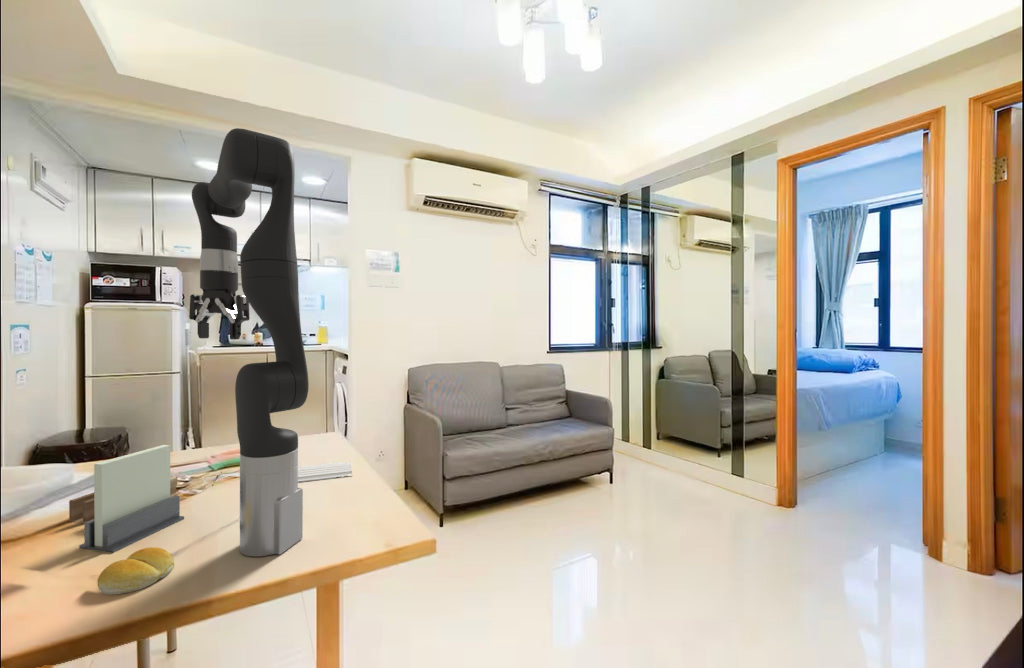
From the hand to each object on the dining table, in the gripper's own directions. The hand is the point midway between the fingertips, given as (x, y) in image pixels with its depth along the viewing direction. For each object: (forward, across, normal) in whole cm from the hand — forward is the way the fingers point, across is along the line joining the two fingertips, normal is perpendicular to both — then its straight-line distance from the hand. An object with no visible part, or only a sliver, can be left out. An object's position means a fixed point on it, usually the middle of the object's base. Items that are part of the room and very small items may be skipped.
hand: (219, 338), depth 104 cm
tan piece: (+35, -2, -16) cm, 38 cm away
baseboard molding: (+37, +10, +10) cm, 40 cm away
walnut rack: (+36, -6, -16) cm, 40 cm away
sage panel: (+34, +6, -24) cm, 42 cm away
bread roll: (+37, +18, -33) cm, 53 cm away
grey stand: (+36, +6, -24) cm, 44 cm away
